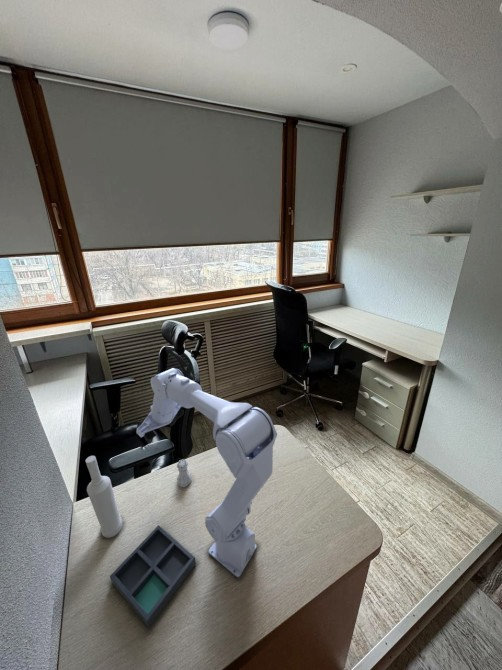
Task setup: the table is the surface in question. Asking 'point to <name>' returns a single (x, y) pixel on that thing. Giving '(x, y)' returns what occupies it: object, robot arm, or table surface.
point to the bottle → (103, 500)
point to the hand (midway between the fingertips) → (159, 431)
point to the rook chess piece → (183, 473)
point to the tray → (153, 574)
